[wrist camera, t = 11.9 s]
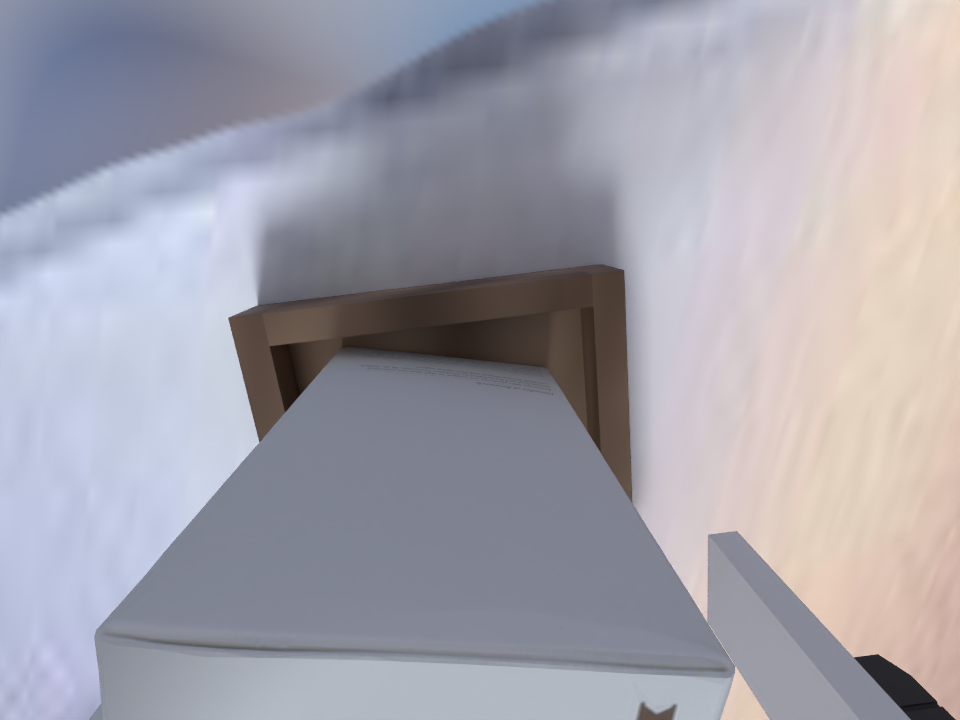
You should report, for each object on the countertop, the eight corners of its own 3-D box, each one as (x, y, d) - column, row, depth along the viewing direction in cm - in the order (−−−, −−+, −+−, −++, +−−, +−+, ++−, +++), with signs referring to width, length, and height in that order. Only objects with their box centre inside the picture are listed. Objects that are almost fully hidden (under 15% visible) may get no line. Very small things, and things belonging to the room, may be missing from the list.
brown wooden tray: (601, 264, 21) (624, 270, 18) (615, 556, 25) (635, 597, 22) (257, 305, 21) (228, 317, 18) (325, 596, 25) (309, 642, 22)
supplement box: (336, 339, 20) (63, 619, 6) (551, 364, 21) (767, 663, 7) (324, 533, 23) (106, 1073, 8) (518, 549, 24) (628, 1065, 9)
